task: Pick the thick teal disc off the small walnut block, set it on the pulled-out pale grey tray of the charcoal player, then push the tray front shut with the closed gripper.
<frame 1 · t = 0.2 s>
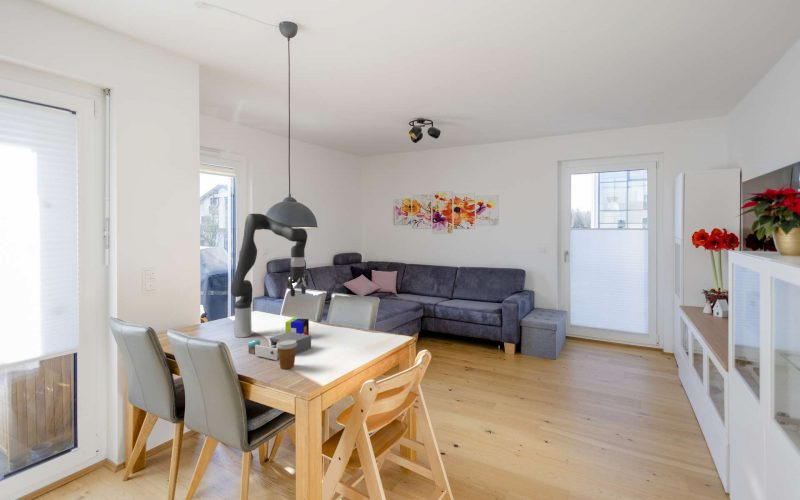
hand: (298, 295, 216), 29 cm above the table, tool pointing down, fingers open, 8 cm apart
walnut block: (254, 352, 208), on the table
disposable coffee cup: (287, 367, 187), on the table
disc: (254, 345, 207), point 4 cm above the table, touching walnut block
puzzle toy: (297, 337, 237), on the table
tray: (275, 348, 203), point 3 cm above the table, slide at 9.0 cm
player: (290, 349, 213), on the table
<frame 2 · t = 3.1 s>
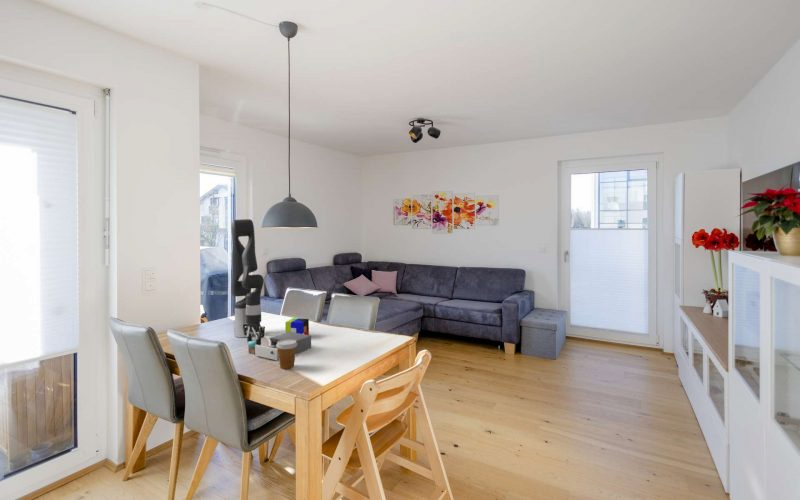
hand: (254, 344, 207), 4 cm above the table, tool pointing down, fingers closed on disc, 6 cm apart
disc: (254, 345, 207), point 4 cm above the table, touching gripper, walnut block
everything else where it was.
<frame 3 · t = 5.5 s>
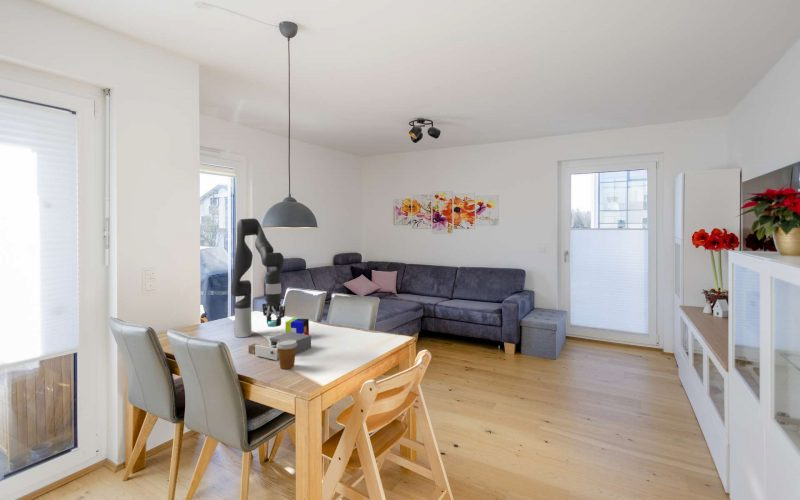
hand: (273, 324, 202), 16 cm above the table, tool pointing down, fingers closed on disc, 6 cm apart
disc: (273, 325, 202), point 16 cm above the table, touching gripper
everything else where it was.
when the fingers open (3 cm above the table, at t = 8.2 s): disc drops 1 cm, resting on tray.
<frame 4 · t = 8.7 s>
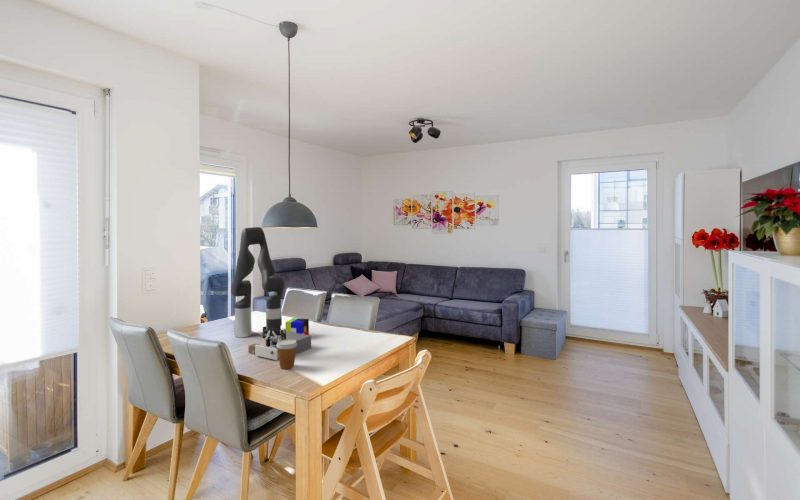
hand: (274, 348, 203), 4 cm above the table, tool pointing down, fingers open, 8 cm apart
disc: (274, 351, 203), point 2 cm above the table, touching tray
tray: (275, 348, 203), point 3 cm above the table, slide at 9.0 cm, touching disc
everything else where it was.
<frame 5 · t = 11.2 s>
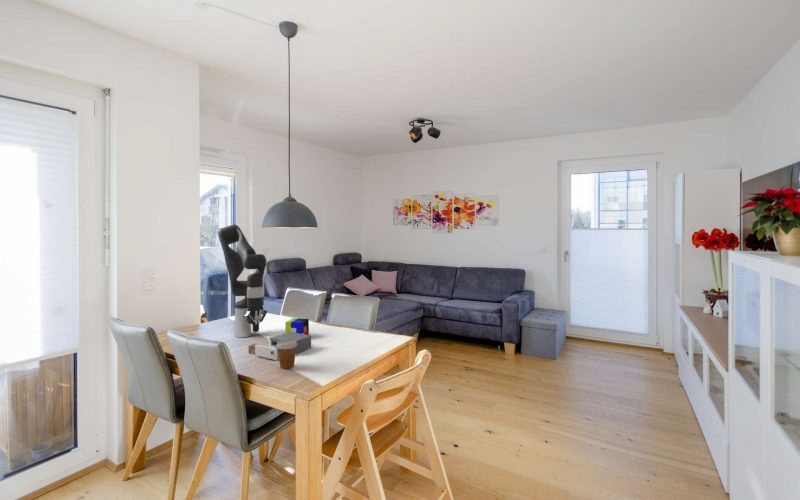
hand: (255, 331, 191), 15 cm above the table, tool pointing down, fingers closed
nothing on the table moved.
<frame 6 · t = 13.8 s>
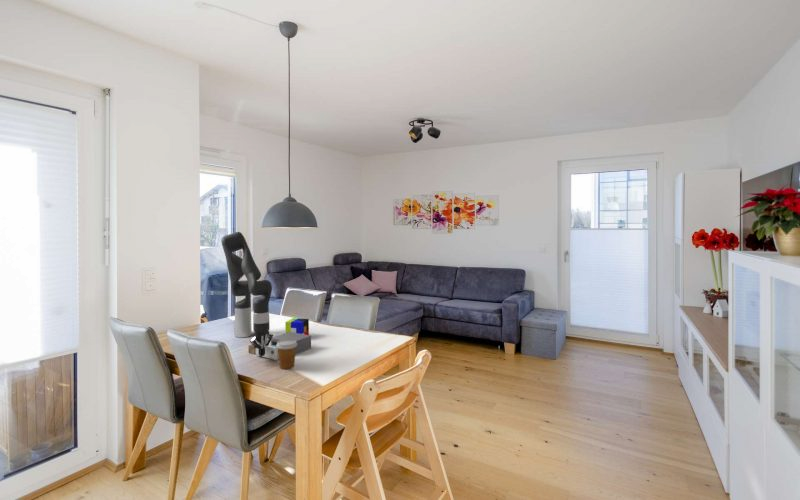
hand: (261, 355, 196), 2 cm above the table, tool pointing down, fingers closed
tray: (276, 348, 204), point 3 cm above the table, slide at 8.6 cm, touching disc, gripper
everything else where it was.
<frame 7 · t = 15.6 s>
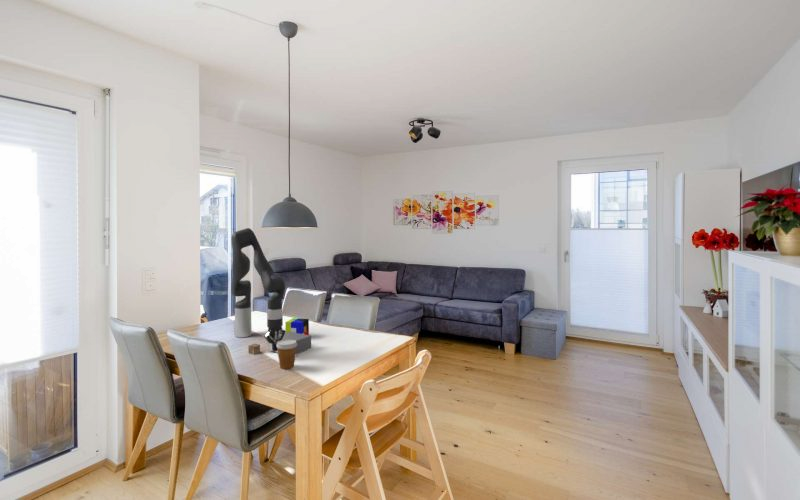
hand: (275, 350, 203), 2 cm above the table, tool pointing down, fingers closed
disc: (287, 346, 211), point 2 cm above the table, touching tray
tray: (288, 344, 211), point 3 cm above the table, slide at 0.0 cm, touching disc, gripper
everything else where it was.
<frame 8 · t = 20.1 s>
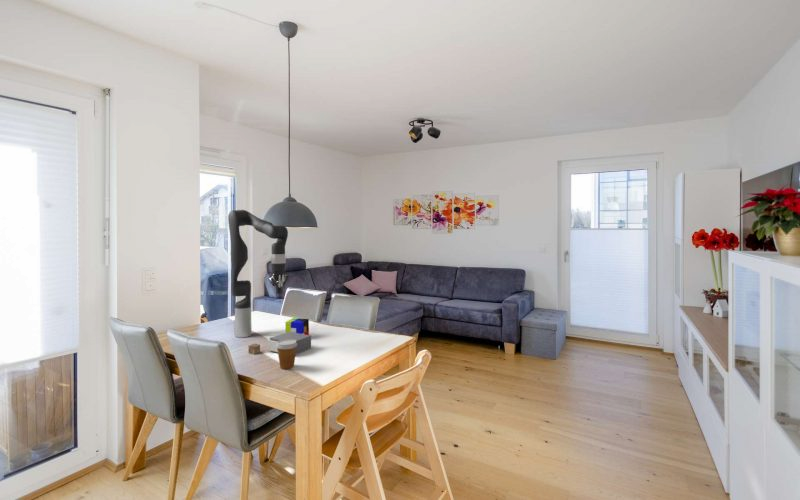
hand: (279, 293, 218), 29 cm above the table, tool pointing down, fingers closed
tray: (288, 344, 211), point 3 cm above the table, slide at 0.0 cm, touching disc
everything else where it was.
at the end: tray slide at 0.0 cm; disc inside the target area (2.5 cm from its centre), point 2.1 cm above the table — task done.
